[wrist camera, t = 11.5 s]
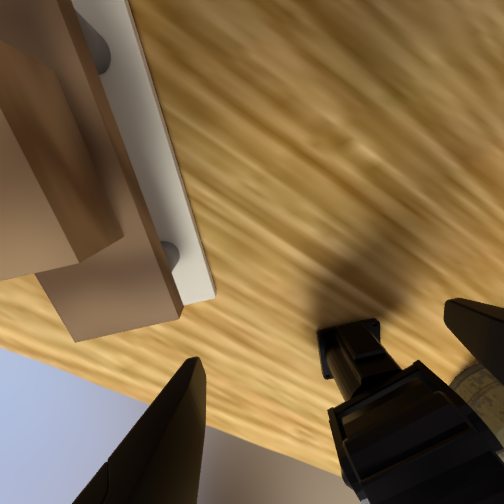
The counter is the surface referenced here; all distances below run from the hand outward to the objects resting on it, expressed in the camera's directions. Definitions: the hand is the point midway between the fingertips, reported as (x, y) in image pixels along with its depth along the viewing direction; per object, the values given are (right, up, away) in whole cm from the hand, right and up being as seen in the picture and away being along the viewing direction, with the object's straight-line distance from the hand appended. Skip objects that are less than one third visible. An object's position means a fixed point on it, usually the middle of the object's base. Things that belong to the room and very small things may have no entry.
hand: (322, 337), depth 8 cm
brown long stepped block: (-13, +8, +5) cm, 16 cm away
